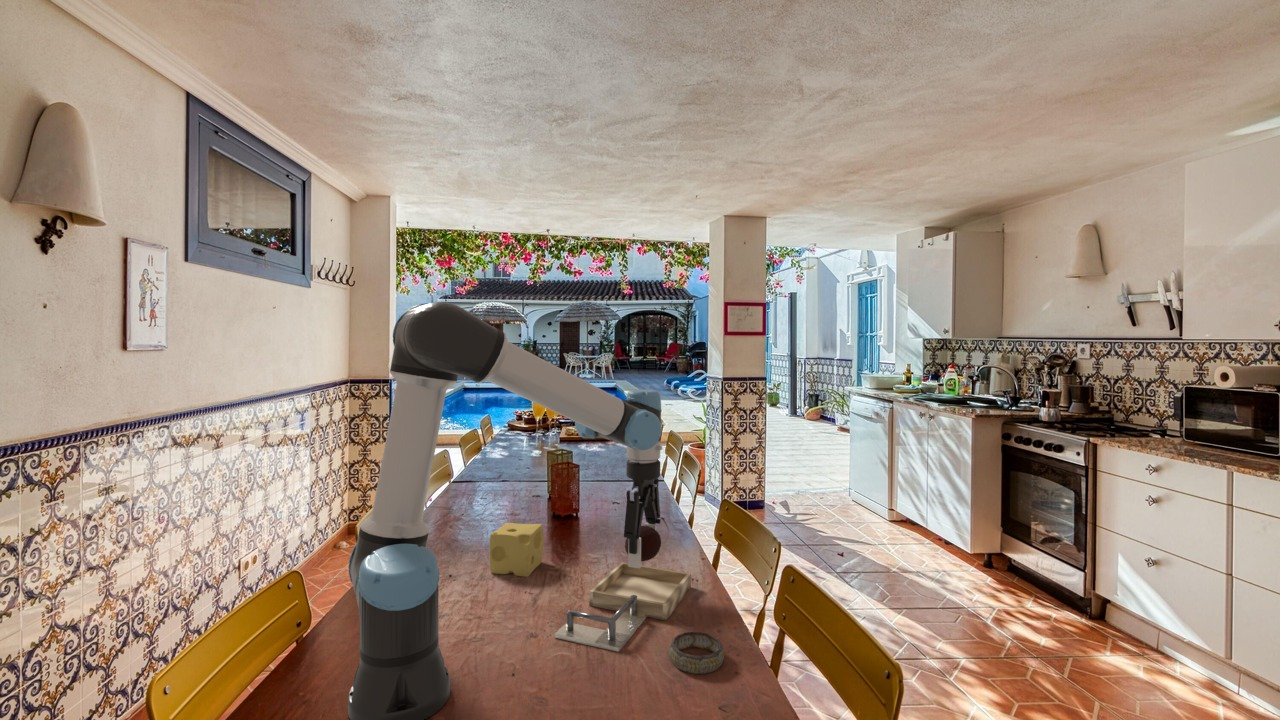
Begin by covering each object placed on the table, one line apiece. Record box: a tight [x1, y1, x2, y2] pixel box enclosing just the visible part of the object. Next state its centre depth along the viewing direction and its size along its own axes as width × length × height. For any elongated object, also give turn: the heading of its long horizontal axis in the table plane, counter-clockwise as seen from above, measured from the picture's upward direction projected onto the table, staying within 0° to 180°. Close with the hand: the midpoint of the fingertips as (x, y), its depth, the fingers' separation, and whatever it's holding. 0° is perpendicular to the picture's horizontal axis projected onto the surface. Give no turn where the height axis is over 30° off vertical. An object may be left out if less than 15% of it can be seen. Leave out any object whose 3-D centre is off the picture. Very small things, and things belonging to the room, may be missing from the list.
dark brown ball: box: [624, 525, 662, 562], centre depth 133 cm, size 8×9×8 cm
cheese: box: [489, 522, 545, 578], centre depth 149 cm, size 10×11×10 cm
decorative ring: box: [668, 631, 726, 675], centre depth 107 cm, size 10×3×10 cm
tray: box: [588, 561, 692, 621], centre depth 133 cm, size 18×18×3 cm
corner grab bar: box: [554, 595, 648, 653], centre depth 120 cm, size 16×14×5 cm
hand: (642, 559), depth 133 cm, fingers closed on dark brown ball, 9 cm apart
